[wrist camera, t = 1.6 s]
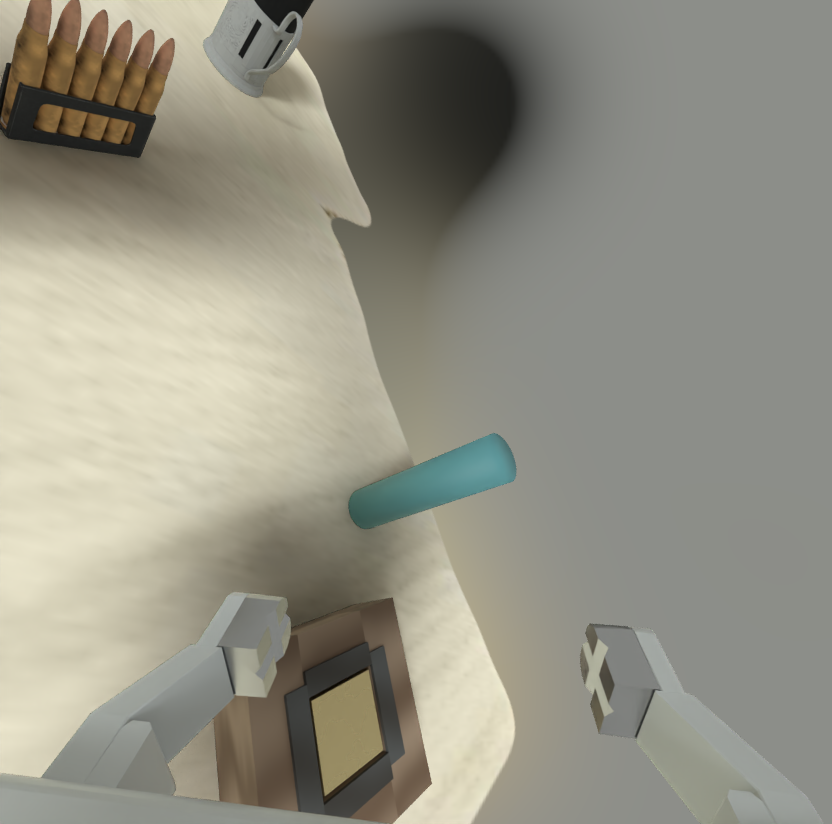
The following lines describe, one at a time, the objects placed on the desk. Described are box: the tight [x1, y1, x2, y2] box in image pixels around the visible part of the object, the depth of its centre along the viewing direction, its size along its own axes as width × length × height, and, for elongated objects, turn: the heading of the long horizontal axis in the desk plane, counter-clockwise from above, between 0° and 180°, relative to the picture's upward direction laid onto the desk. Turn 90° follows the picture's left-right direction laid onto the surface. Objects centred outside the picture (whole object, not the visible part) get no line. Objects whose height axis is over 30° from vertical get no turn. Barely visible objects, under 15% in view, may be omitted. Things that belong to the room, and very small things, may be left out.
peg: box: [349, 433, 516, 529], centre depth 40 cm, size 4×4×18 cm
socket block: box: [214, 598, 432, 824], centre depth 30 cm, size 14×14×5 cm
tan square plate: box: [309, 670, 383, 796], centre depth 29 cm, size 5×5×1 cm
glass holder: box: [203, 0, 313, 97], centre depth 54 cm, size 9×14×15 cm, turn 26°
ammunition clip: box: [0, 0, 175, 158], centre depth 33 cm, size 11×2×12 cm, turn 140°
